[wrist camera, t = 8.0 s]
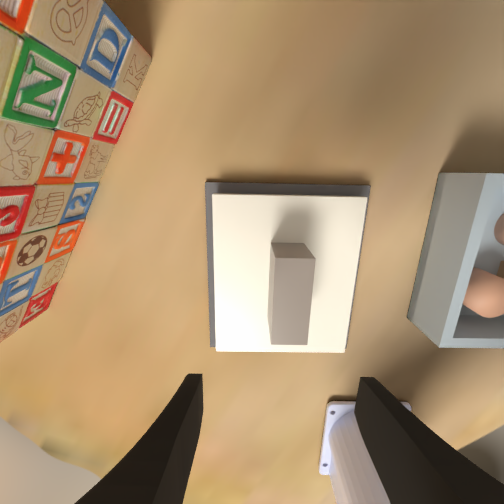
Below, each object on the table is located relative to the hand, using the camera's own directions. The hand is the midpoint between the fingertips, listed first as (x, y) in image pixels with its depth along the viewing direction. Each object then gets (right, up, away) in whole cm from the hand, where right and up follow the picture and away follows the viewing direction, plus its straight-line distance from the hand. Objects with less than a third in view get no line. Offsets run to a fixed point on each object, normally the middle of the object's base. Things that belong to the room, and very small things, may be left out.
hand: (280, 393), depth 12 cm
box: (+17, +6, +9) cm, 20 cm away
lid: (+1, +4, +9) cm, 10 cm away
